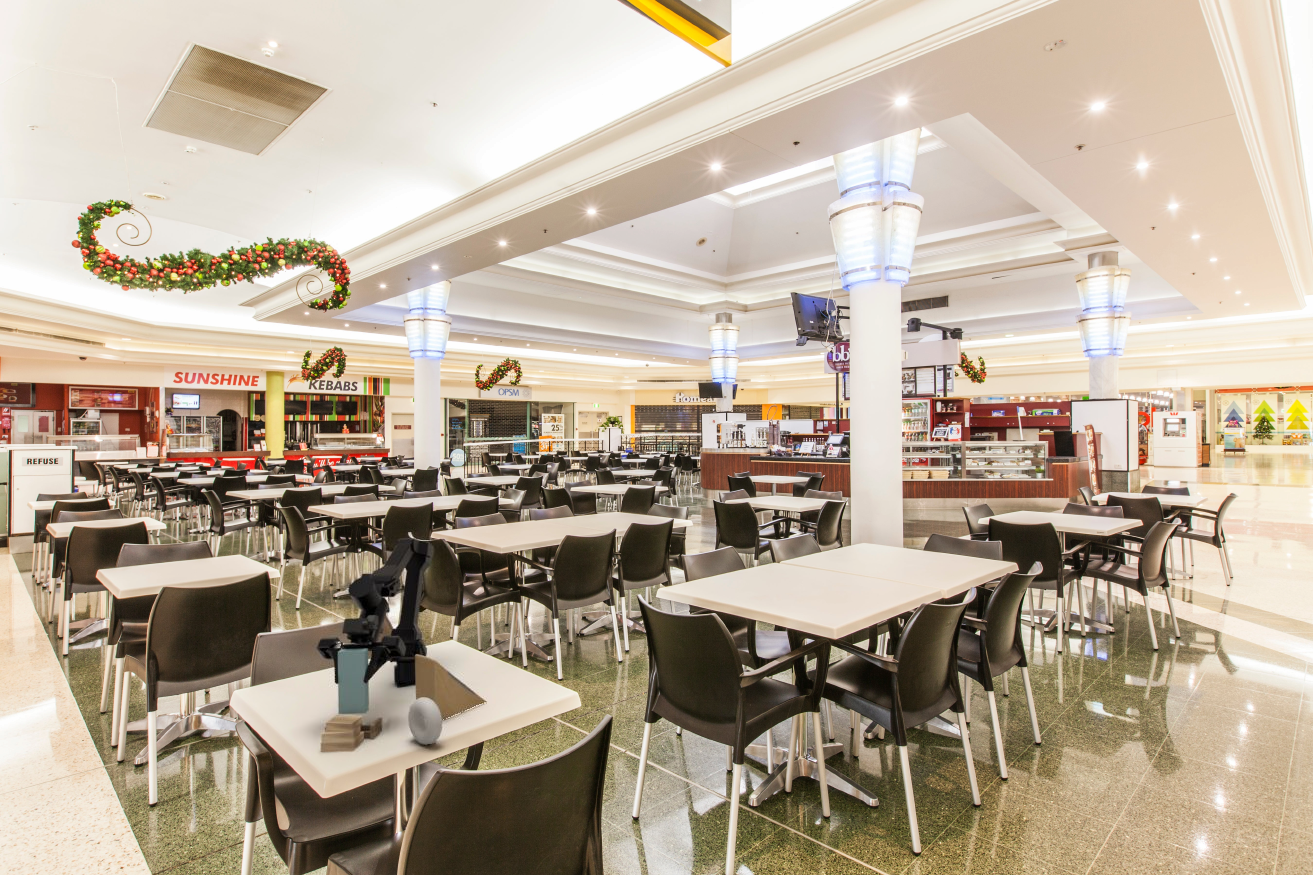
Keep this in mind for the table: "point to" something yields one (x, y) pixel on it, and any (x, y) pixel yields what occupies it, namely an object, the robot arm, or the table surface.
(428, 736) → the donut
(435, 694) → the sandwich container
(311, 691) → the table surface
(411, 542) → the robot arm
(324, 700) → the table surface
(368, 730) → the rack
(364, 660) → the teal rectangular block
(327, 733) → the offcut stack
